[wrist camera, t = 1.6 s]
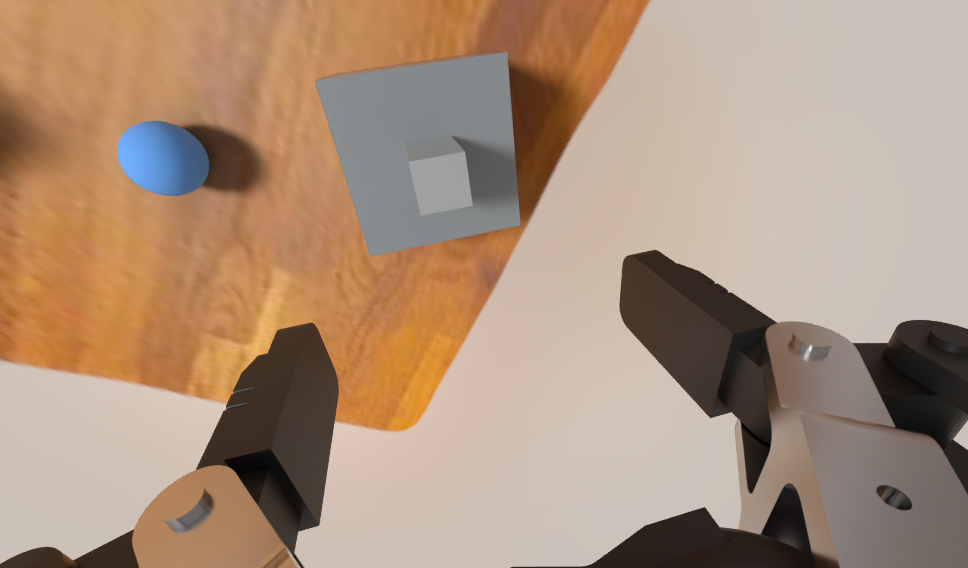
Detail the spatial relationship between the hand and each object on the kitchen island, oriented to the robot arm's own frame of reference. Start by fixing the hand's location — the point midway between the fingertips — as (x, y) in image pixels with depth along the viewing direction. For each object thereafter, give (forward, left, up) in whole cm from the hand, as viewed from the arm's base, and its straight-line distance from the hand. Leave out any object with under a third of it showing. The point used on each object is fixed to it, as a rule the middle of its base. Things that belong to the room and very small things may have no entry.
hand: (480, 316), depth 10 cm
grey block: (0, +1, -27) cm, 27 cm away
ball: (-2, -17, -24) cm, 30 cm away
